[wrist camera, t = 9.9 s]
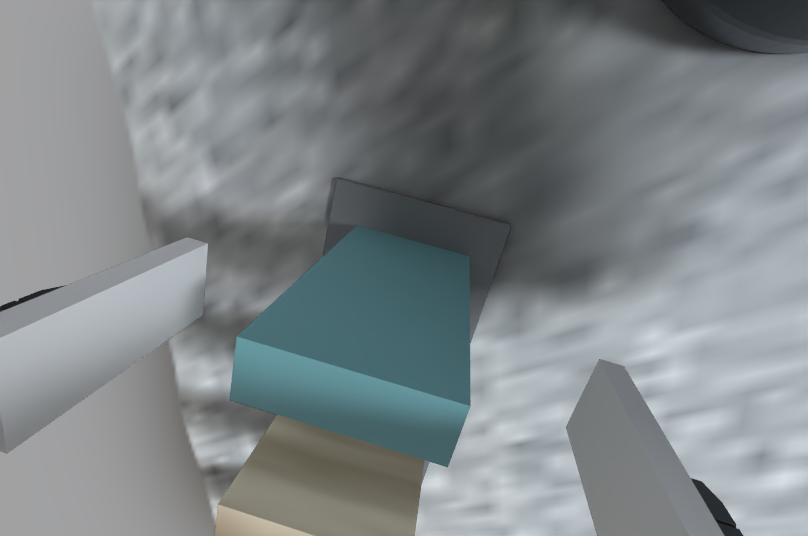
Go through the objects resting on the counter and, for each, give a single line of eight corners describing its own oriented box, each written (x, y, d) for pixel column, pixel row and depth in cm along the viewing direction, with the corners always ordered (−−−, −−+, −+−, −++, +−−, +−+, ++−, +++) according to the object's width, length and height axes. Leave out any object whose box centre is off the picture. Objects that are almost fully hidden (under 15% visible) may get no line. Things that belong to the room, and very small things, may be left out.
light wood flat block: (336, 323, 24) (218, 504, 12) (438, 353, 23) (410, 566, 12) (330, 352, 24) (213, 548, 13) (429, 381, 24) (394, 608, 13)
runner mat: (338, 177, 21) (336, 178, 21) (510, 224, 21) (510, 226, 20) (267, 569, 32) (265, 574, 32) (378, 606, 32) (377, 611, 31)
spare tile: (357, 225, 22) (236, 336, 10) (469, 256, 21) (470, 406, 10) (350, 260, 22) (229, 400, 11) (458, 290, 22) (447, 467, 11)
